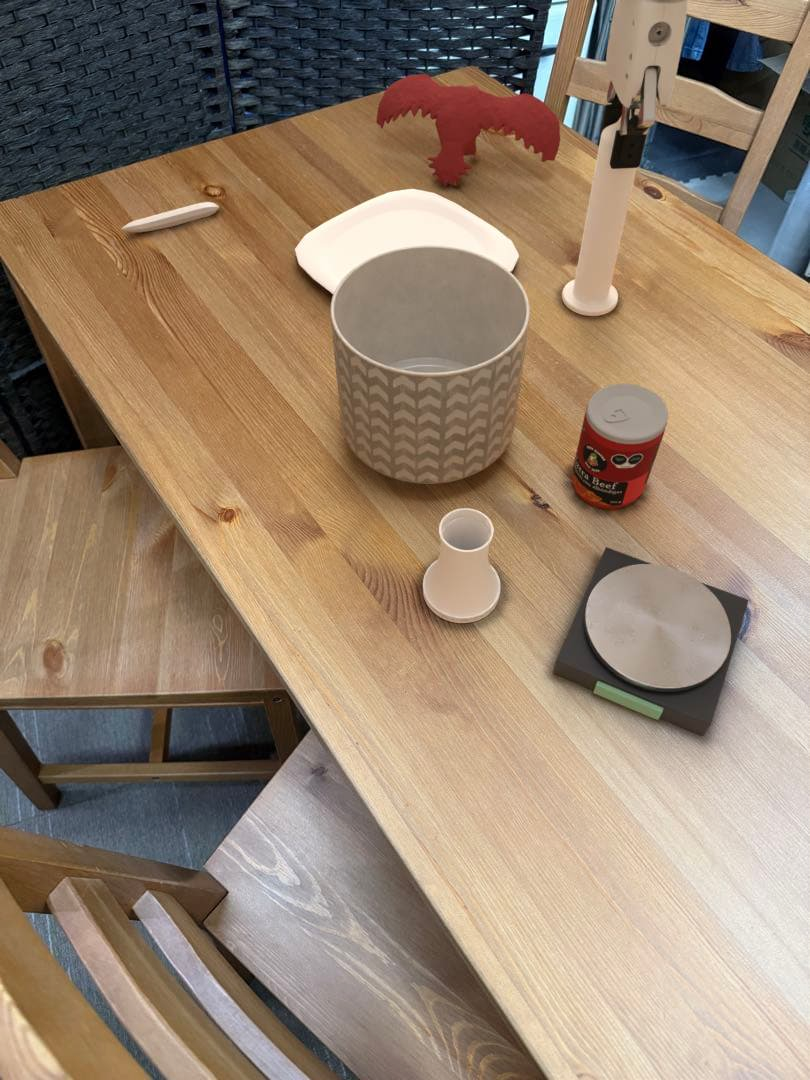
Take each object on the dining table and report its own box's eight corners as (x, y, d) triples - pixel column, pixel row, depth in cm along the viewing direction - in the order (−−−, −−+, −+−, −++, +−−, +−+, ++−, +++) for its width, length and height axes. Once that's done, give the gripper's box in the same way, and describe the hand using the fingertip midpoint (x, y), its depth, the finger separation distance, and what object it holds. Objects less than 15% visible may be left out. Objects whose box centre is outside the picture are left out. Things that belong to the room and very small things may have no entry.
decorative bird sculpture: (543, 217, 127) (573, 111, 124) (534, 203, 119) (566, 89, 115) (370, 178, 134) (394, 76, 131) (350, 162, 125) (374, 53, 122)
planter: (328, 492, 91) (311, 364, 77) (358, 370, 102) (349, 237, 88) (506, 511, 90) (524, 384, 75) (517, 384, 101) (535, 252, 86)
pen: (121, 234, 119) (118, 223, 117) (217, 207, 122) (215, 197, 121) (124, 240, 118) (121, 229, 117) (221, 213, 121) (219, 202, 120)
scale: (741, 612, 82) (753, 592, 79) (701, 741, 74) (713, 724, 72) (601, 560, 86) (608, 539, 83) (550, 677, 78) (555, 659, 75)
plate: (274, 257, 115) (272, 246, 114) (413, 186, 125) (413, 175, 124) (397, 352, 104) (397, 341, 103) (540, 265, 114) (542, 254, 112)
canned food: (555, 480, 92) (570, 407, 83) (605, 444, 95) (625, 370, 86) (609, 523, 88) (630, 452, 79) (659, 485, 91) (685, 412, 82)
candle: (624, 289, 111) (670, 95, 90) (608, 322, 107) (652, 127, 87) (571, 275, 112) (605, 82, 92) (554, 307, 109) (585, 113, 88)
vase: (515, 590, 84) (526, 529, 76) (462, 637, 81) (468, 579, 73) (459, 546, 87) (464, 483, 79) (406, 589, 84) (406, 529, 76)
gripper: (722, 4, 74) (671, 196, 89) (674, -72, 84) (635, 112, 99) (637, 7, 74) (600, 199, 89) (598, -69, 84) (571, 115, 99)
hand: (619, 151), depth 94 cm, fingers closed on candle, 4 cm apart
